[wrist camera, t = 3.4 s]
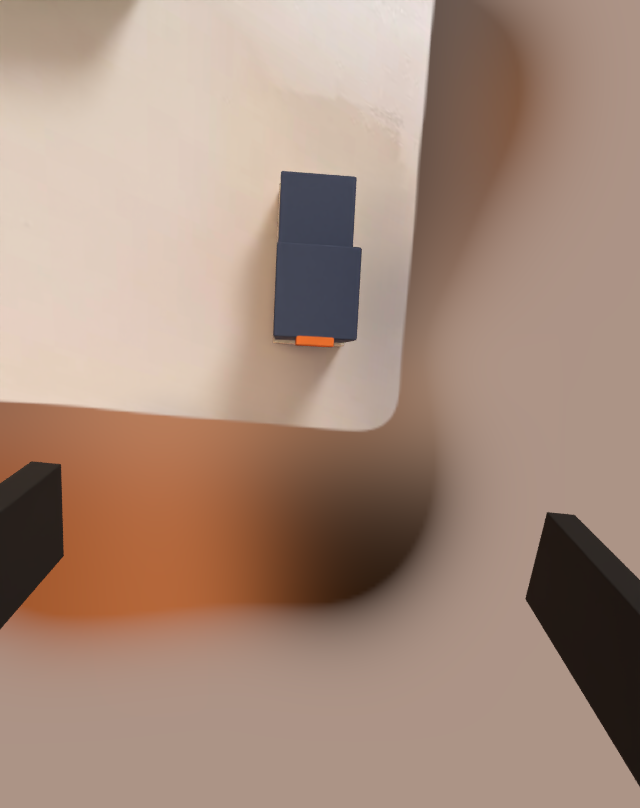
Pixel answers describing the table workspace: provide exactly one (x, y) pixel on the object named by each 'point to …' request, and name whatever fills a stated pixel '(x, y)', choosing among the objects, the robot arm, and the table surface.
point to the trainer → (316, 261)
